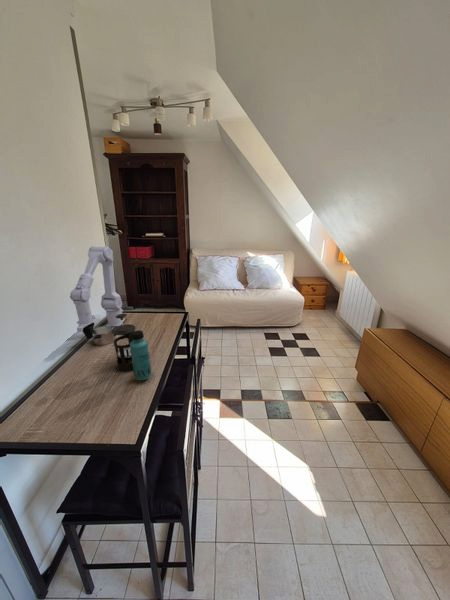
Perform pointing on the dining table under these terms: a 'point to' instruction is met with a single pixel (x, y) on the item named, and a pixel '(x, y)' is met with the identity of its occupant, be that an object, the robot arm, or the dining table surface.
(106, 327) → the pot
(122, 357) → the french press
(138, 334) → the beverage bottle
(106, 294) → the robot arm
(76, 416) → the dining table surface
